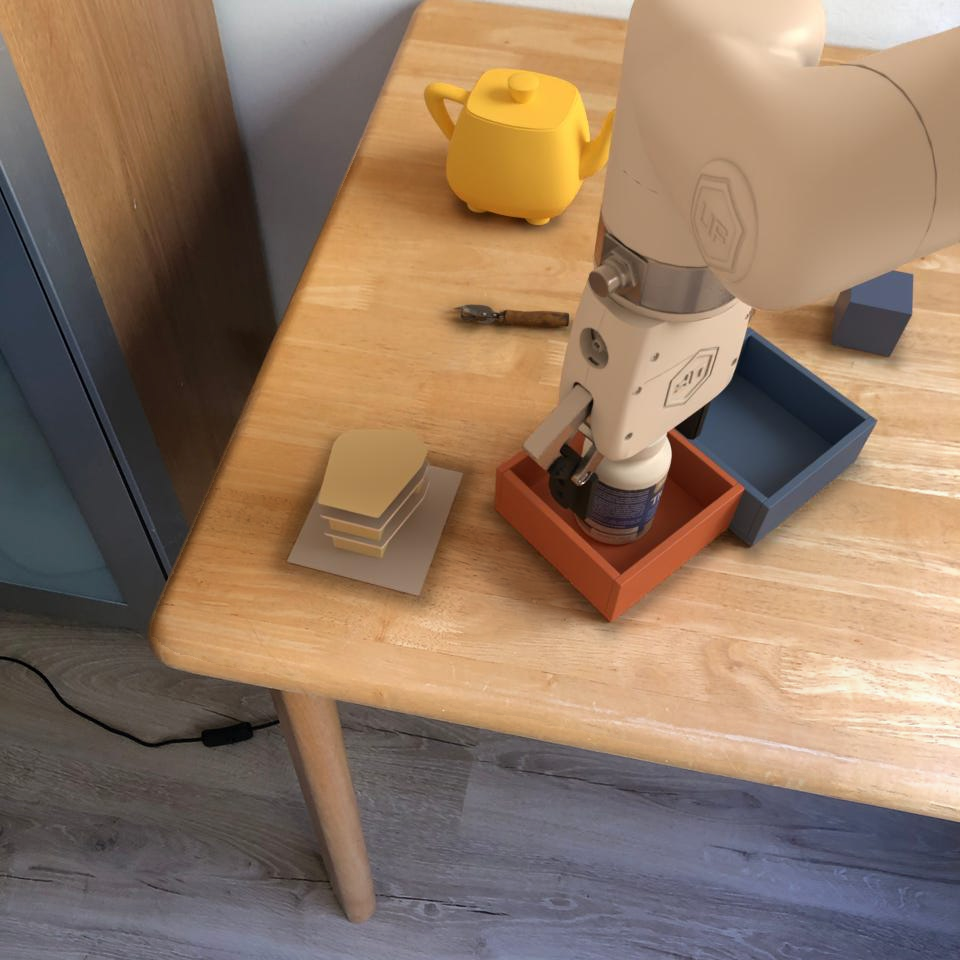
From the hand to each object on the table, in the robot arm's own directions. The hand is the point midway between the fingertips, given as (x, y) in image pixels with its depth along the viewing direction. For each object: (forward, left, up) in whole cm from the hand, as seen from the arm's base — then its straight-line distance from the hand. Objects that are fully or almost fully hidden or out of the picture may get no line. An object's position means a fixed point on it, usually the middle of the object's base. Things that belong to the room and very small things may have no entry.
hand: (625, 462), depth 60 cm
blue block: (0, -28, -6) cm, 28 cm away
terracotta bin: (0, 0, -6) cm, 6 cm away
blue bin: (-2, -11, -6) cm, 13 cm away
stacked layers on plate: (+10, +12, -7) cm, 17 cm away
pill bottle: (0, 0, -6) cm, 6 cm away
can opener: (+18, -7, -6) cm, 20 cm away
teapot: (+29, -18, -6) cm, 35 cm away
